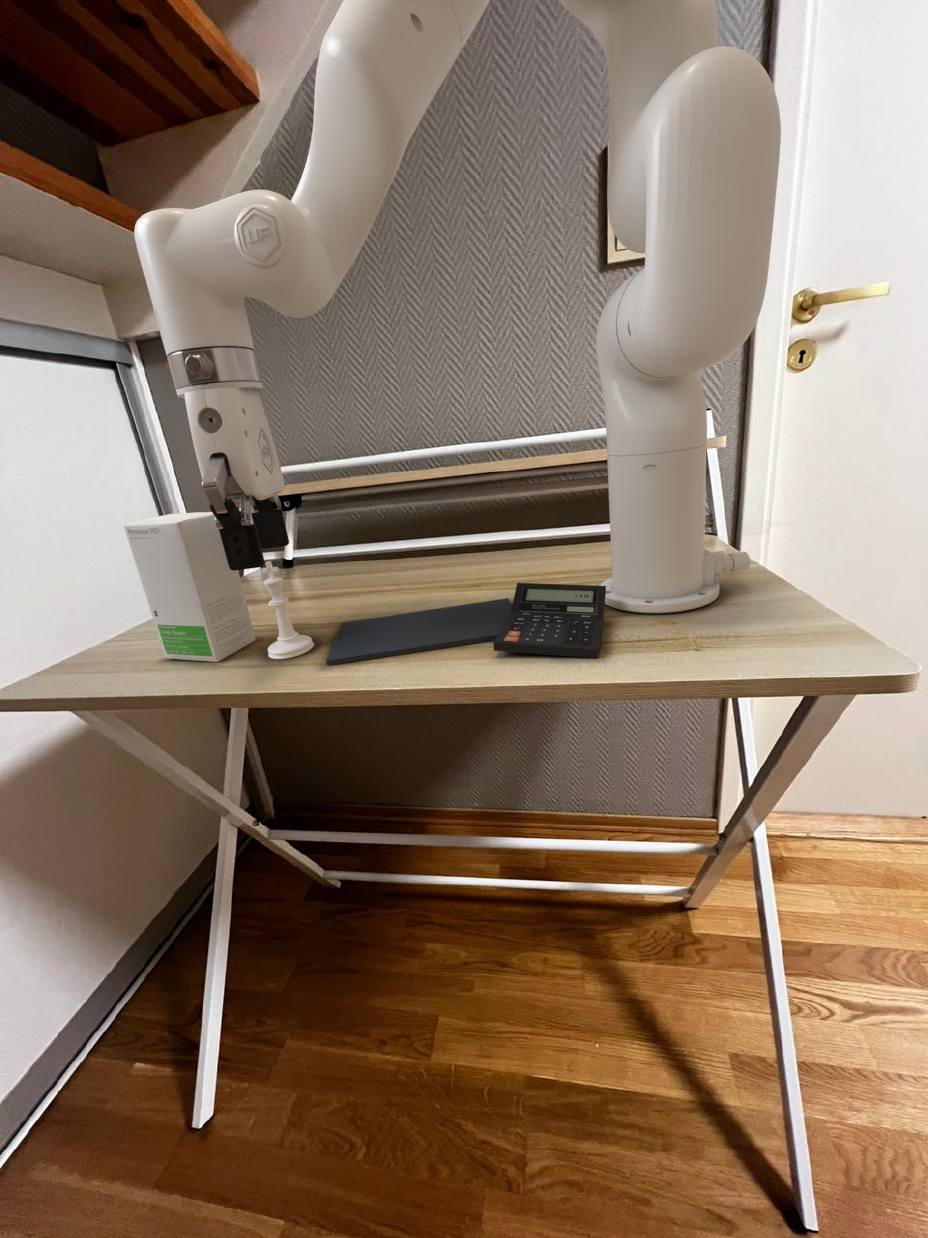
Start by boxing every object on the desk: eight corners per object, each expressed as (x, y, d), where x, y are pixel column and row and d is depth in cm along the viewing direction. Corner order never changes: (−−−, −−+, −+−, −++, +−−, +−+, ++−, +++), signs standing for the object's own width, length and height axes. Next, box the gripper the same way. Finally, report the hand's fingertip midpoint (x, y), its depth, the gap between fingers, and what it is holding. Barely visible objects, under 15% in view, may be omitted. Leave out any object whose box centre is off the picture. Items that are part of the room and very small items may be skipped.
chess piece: (300, 658, 56) (276, 566, 53) (259, 660, 57) (233, 570, 54) (321, 640, 61) (300, 554, 57) (282, 641, 62) (260, 557, 58)
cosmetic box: (164, 660, 61) (116, 525, 56) (208, 637, 67) (168, 513, 62) (220, 662, 58) (175, 520, 53) (261, 638, 64) (224, 507, 59)
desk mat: (508, 602, 64) (508, 597, 64) (524, 635, 54) (524, 630, 54) (343, 627, 64) (342, 622, 64) (327, 665, 53) (325, 660, 53)
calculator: (493, 650, 50) (492, 620, 48) (518, 607, 60) (518, 581, 59) (597, 658, 47) (598, 626, 46) (605, 611, 57) (606, 584, 56)
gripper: (225, 360, 41) (277, 573, 47) (281, 379, 58) (315, 536, 64) (128, 372, 41) (192, 584, 47) (211, 388, 58) (251, 544, 63)
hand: (262, 556), depth 55 cm, fingers open, 9 cm apart
